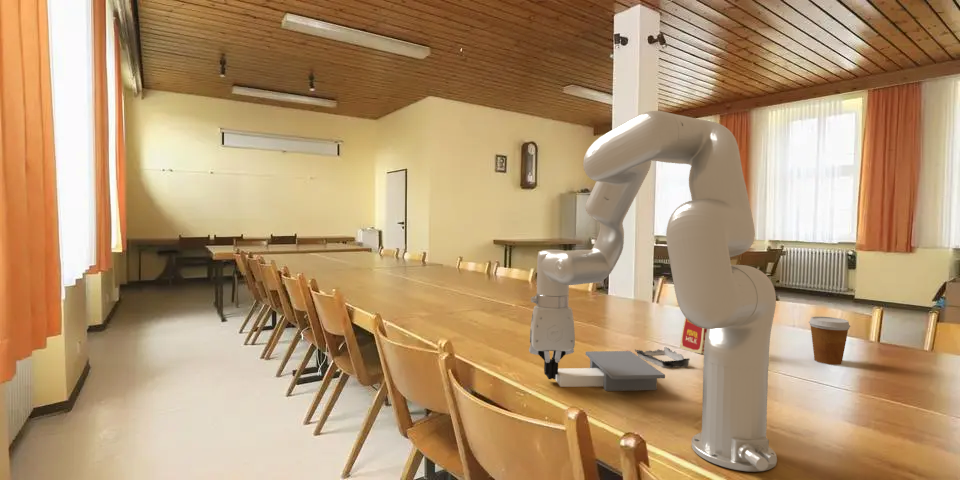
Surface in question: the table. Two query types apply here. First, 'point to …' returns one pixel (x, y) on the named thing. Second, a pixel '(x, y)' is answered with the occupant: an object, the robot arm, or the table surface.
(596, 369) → the white rectangular block
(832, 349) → the disposable coffee cup
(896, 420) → the table surface
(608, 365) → the grey flat-topped block
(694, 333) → the milk carton
